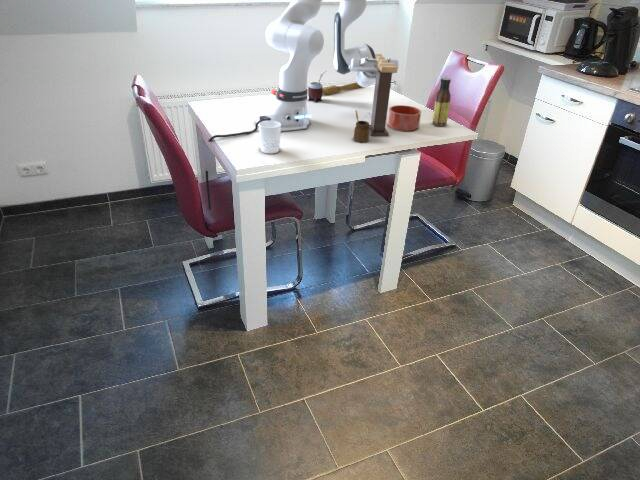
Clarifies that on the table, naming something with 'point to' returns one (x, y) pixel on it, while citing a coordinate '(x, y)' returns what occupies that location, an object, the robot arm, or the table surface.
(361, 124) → the wooden mate cup
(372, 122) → the stand
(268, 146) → the white cup
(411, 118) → the bowl
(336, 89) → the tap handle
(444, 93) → the sauce bottle
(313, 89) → the mate gourd
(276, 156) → the table surface
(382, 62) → the light wooden bar
